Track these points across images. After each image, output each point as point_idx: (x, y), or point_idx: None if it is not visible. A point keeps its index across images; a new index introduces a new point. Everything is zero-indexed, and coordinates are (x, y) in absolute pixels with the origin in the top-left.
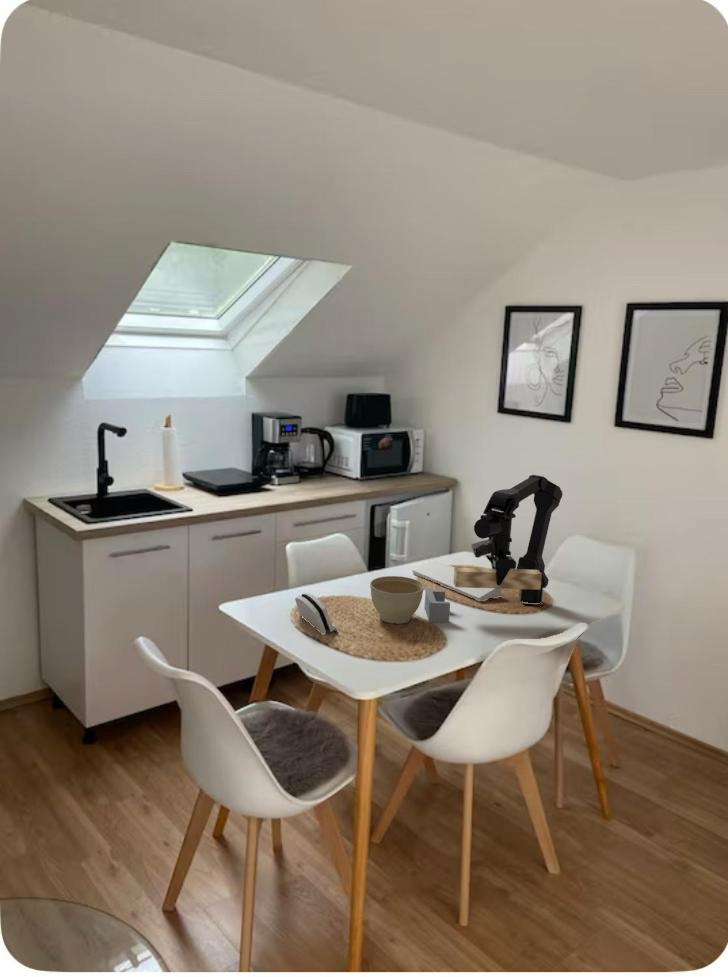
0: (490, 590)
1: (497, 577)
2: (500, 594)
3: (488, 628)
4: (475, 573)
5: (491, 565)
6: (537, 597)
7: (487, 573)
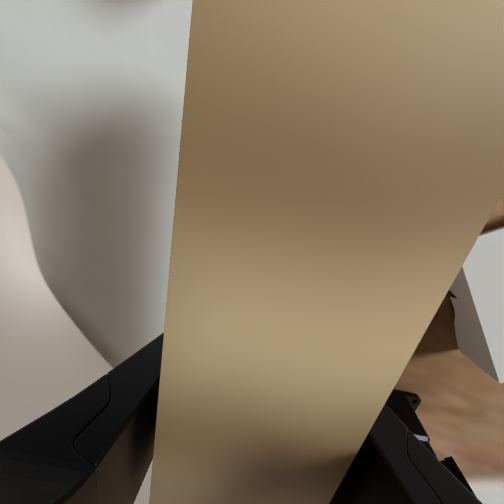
0: (486, 322)
1: (126, 364)
2: (466, 352)
3: (128, 151)
4: (204, 20)
5: (458, 485)
6: None
7: (172, 287)
